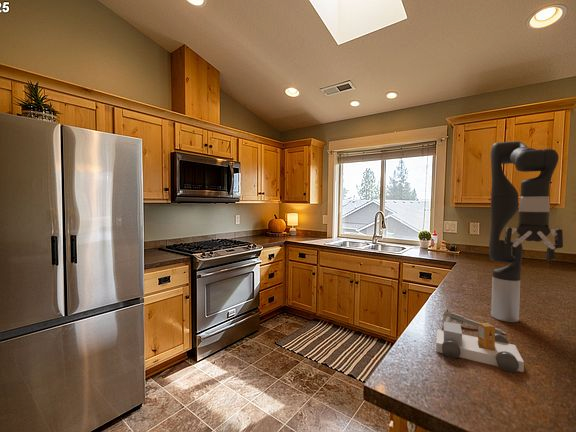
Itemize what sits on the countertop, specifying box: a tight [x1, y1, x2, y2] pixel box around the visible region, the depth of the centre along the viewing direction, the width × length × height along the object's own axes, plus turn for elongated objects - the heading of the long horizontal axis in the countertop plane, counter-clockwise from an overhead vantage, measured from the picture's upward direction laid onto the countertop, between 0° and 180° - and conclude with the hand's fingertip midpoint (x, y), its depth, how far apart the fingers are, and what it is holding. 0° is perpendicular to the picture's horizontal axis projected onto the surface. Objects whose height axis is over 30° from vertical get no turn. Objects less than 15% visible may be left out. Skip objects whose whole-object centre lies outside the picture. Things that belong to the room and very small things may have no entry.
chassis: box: [436, 320, 525, 373], centre depth 88 cm, size 15×22×7 cm
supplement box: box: [477, 322, 496, 351], centre depth 86 cm, size 3×3×10 cm
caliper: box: [442, 308, 507, 335], centre depth 106 cm, size 20×1×6 cm, turn 62°
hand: (531, 259), depth 90 cm, fingers open, 8 cm apart
